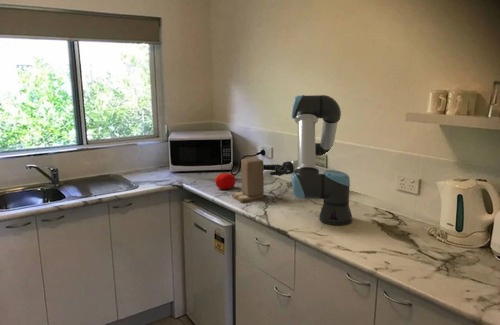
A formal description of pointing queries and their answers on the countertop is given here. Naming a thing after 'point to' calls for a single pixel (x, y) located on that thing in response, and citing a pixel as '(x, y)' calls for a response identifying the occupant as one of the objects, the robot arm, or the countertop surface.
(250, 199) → the trivet
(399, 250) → the countertop surface
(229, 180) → the tomato
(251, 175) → the block
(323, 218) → the robot arm
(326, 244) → the countertop surface
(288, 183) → the countertop surface
